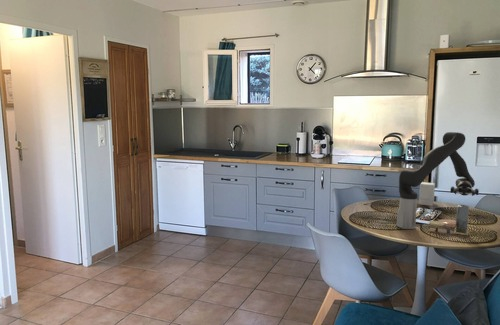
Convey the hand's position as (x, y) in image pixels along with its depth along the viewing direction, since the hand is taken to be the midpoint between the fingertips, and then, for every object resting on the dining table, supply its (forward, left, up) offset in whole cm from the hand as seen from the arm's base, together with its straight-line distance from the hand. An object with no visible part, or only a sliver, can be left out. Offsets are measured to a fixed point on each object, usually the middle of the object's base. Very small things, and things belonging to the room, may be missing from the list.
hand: (464, 193), depth 228 cm
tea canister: (-7, -9, -19) cm, 22 cm away
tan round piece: (+1, +9, -21) cm, 23 cm away
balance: (-12, -5, -21) cm, 25 cm away
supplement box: (+19, +58, -21) cm, 65 cm away
